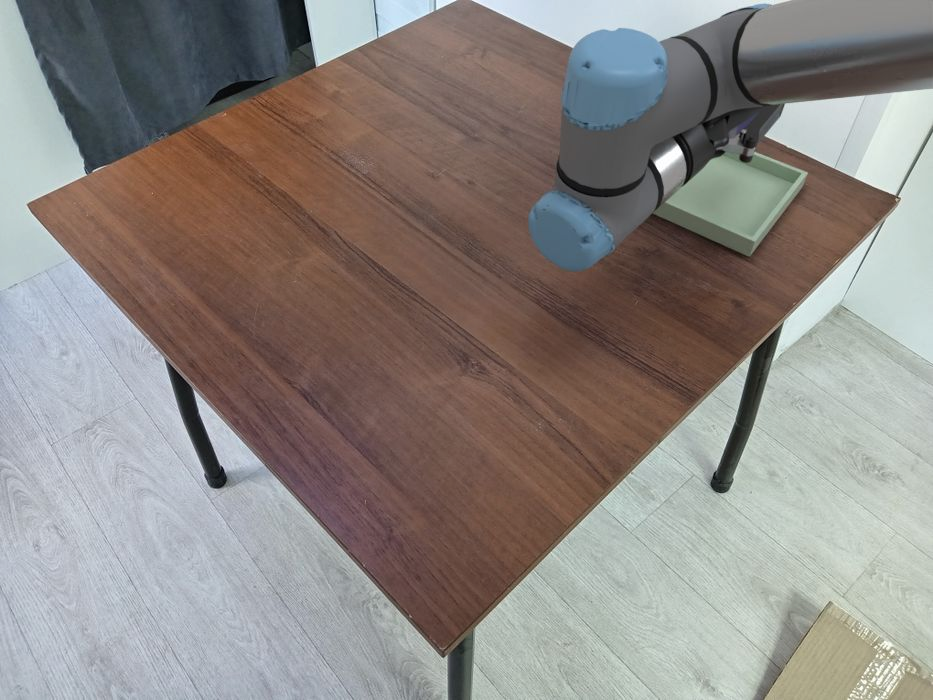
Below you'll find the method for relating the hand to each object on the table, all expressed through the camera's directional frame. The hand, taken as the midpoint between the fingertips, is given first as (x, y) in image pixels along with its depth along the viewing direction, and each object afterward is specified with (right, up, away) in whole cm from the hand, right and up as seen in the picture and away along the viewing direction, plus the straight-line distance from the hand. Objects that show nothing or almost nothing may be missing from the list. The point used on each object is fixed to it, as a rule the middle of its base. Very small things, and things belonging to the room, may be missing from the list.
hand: (776, 57), depth 85 cm
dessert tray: (-3, -13, +11) cm, 17 cm away
